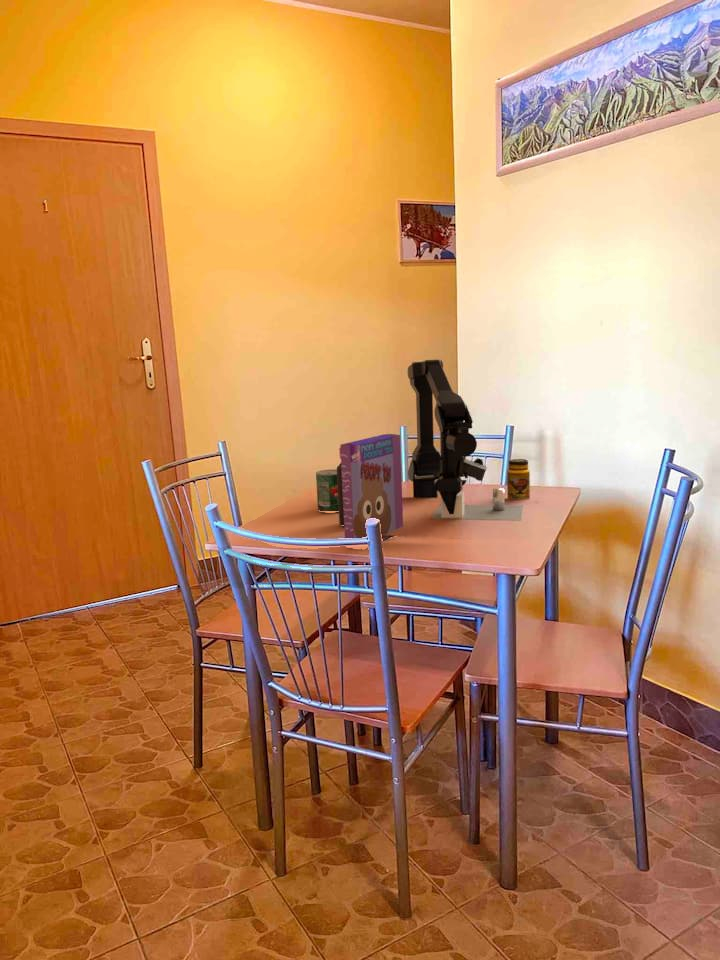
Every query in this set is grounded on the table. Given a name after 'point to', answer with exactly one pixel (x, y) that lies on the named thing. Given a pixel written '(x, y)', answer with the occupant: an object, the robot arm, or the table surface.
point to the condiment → (518, 479)
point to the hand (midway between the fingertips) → (453, 511)
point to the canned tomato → (327, 490)
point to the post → (498, 499)
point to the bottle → (340, 493)
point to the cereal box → (372, 484)
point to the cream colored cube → (458, 507)
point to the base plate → (486, 513)
